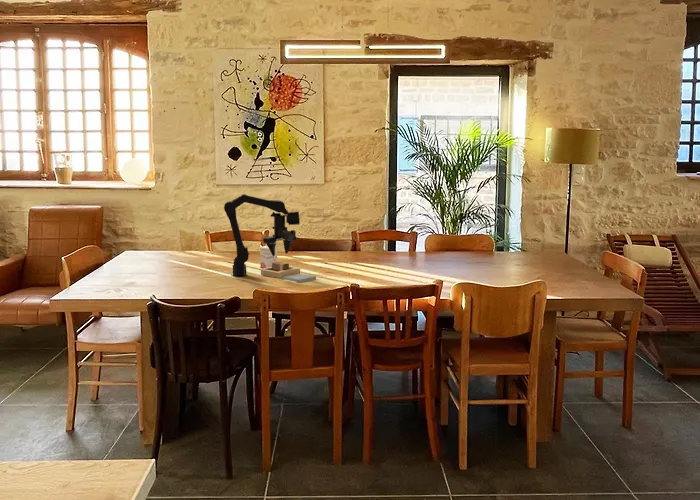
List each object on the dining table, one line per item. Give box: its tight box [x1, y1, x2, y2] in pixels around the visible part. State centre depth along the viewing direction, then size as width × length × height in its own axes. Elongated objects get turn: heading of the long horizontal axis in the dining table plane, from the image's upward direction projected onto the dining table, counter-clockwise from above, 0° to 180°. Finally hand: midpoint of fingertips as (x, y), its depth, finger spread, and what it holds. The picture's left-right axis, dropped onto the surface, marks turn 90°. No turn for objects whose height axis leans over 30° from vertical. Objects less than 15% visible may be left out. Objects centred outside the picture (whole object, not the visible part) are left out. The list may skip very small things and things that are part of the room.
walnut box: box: [272, 261, 290, 272], centre depth 391 cm, size 5×8×6 cm, turn 49°
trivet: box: [282, 272, 317, 284], centre depth 381 cm, size 12×12×2 cm
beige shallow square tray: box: [259, 265, 303, 279], centre depth 391 cm, size 16×15×4 cm
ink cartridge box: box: [259, 241, 278, 269], centre depth 411 cm, size 9×5×15 cm, turn 58°
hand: (280, 254), depth 390 cm, fingers open, 9 cm apart
